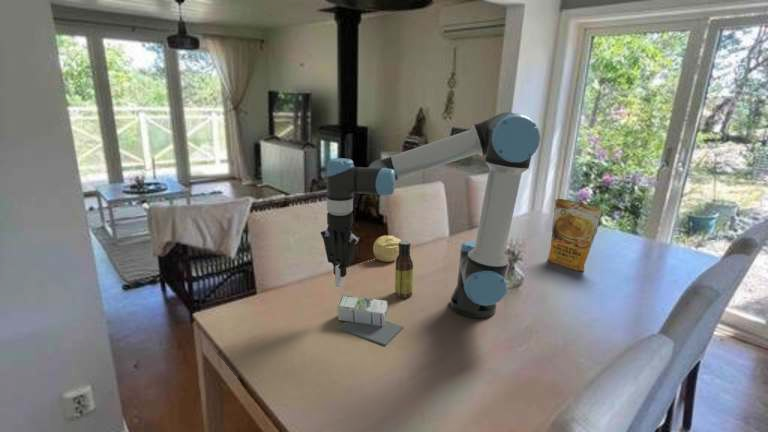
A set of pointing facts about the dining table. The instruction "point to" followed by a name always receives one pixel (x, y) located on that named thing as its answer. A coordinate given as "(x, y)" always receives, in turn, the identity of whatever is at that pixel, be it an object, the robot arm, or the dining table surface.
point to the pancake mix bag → (573, 233)
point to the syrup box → (362, 310)
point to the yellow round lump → (386, 248)
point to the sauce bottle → (404, 271)
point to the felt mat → (373, 331)
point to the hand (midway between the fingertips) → (339, 284)
